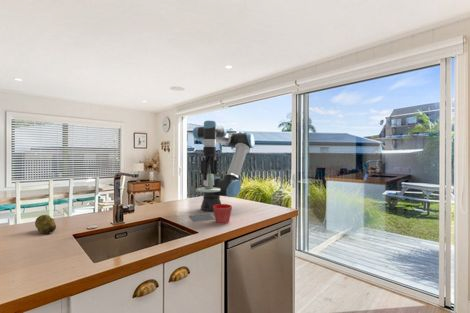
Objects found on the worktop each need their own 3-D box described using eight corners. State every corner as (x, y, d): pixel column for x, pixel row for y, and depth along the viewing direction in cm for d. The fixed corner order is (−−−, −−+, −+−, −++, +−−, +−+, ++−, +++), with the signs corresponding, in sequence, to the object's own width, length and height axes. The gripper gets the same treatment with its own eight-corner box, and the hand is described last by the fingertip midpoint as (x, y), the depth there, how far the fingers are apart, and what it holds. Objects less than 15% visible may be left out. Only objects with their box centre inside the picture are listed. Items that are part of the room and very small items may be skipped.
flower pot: (229, 225, 141) (229, 208, 141) (210, 224, 143) (210, 207, 143) (233, 220, 151) (233, 204, 151) (215, 219, 153) (216, 203, 153)
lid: (195, 189, 156) (195, 172, 156) (217, 188, 160) (217, 172, 160) (199, 192, 142) (199, 174, 142) (222, 192, 146) (223, 174, 146)
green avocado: (35, 236, 120) (35, 220, 120) (35, 230, 130) (34, 214, 130) (56, 233, 126) (56, 217, 125) (54, 227, 136) (54, 212, 135)
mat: (188, 216, 160) (188, 215, 160) (209, 214, 165) (209, 213, 165) (193, 222, 147) (193, 221, 147) (215, 220, 152) (215, 219, 152)
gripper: (214, 147, 160) (214, 183, 160) (194, 146, 146) (193, 186, 146) (223, 147, 155) (223, 184, 156) (203, 145, 142) (203, 187, 142)
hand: (208, 185), depth 151 cm, fingers closed on lid, 4 cm apart
